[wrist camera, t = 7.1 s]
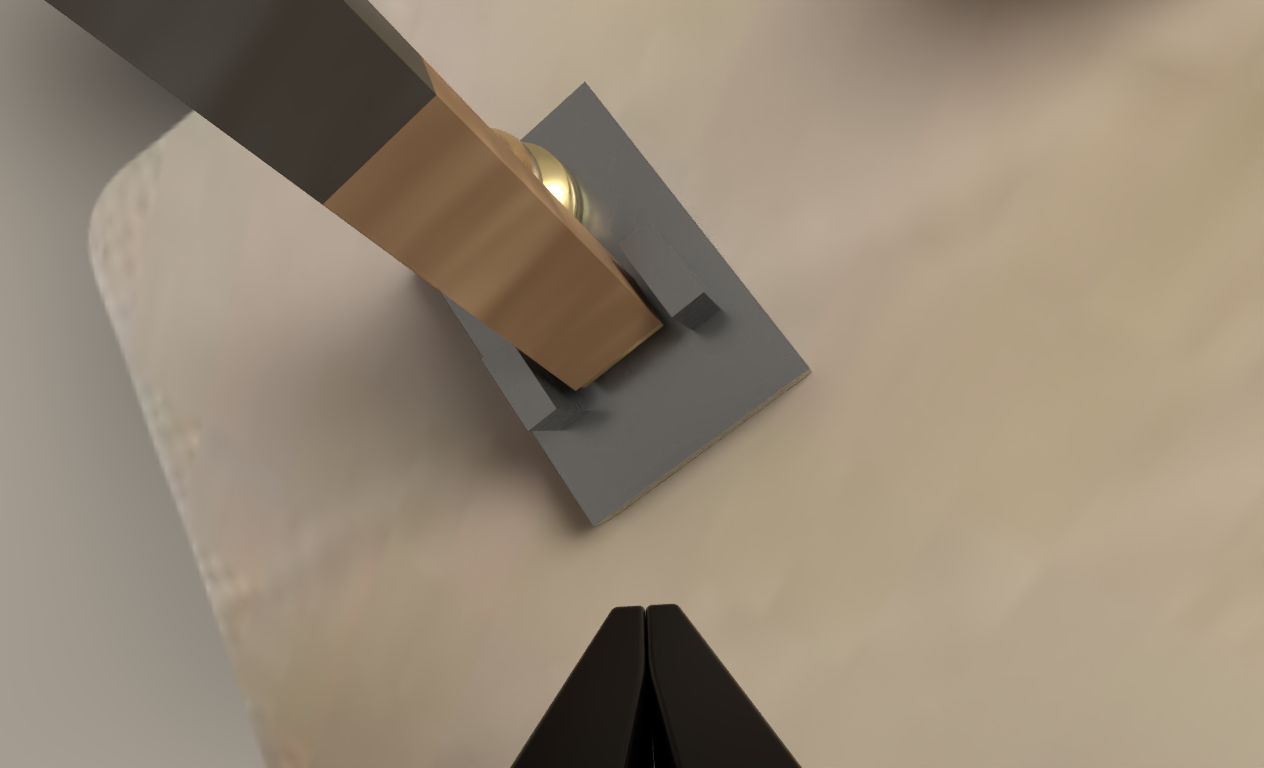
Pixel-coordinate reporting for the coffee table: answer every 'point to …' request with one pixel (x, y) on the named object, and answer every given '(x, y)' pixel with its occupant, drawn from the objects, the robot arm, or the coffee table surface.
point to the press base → (666, 361)
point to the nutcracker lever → (390, 161)
